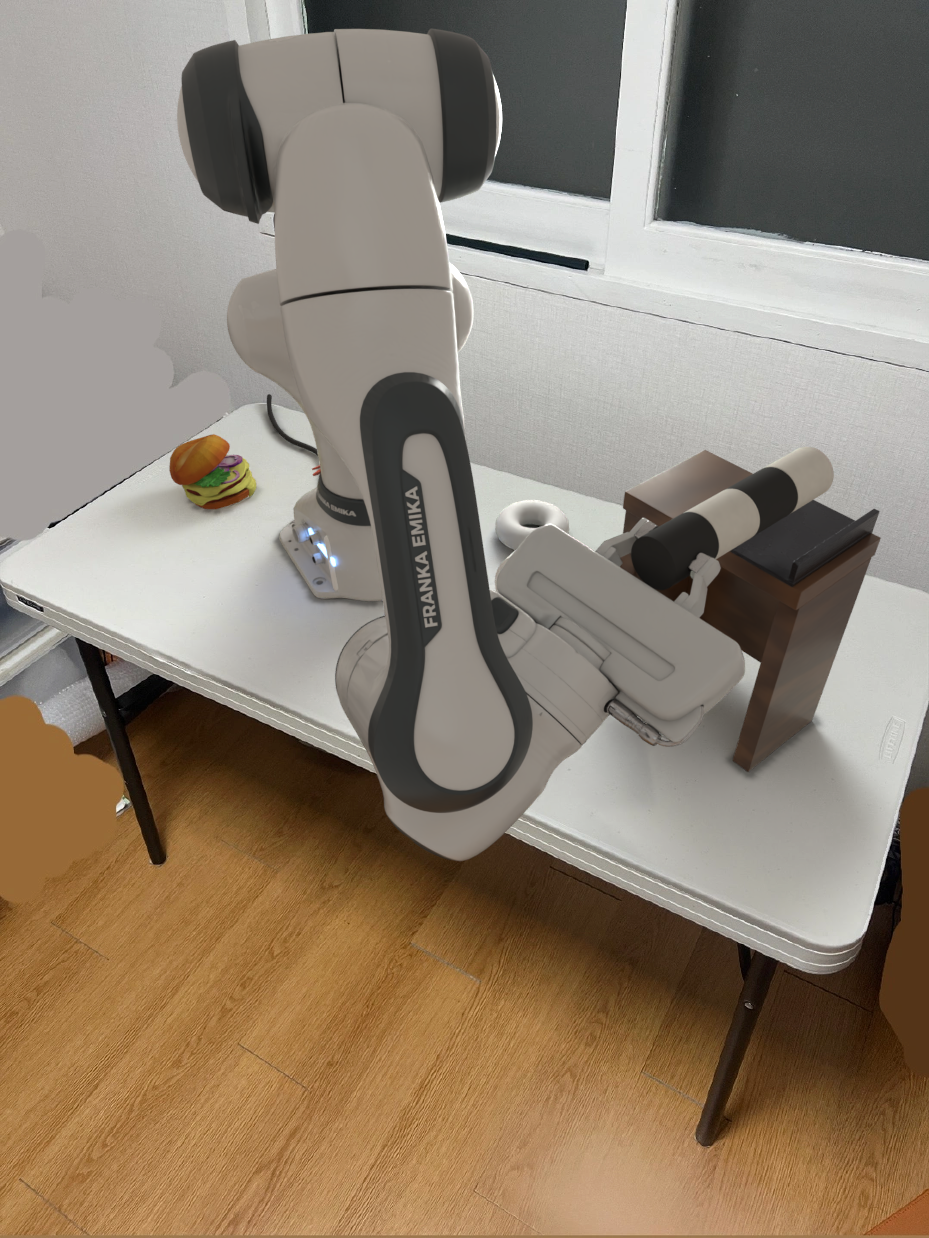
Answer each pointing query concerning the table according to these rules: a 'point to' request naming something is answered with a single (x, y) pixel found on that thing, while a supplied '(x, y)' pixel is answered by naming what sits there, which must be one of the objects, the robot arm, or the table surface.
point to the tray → (804, 541)
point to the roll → (731, 516)
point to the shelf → (760, 607)
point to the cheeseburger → (211, 473)
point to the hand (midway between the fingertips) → (681, 541)
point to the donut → (527, 520)
